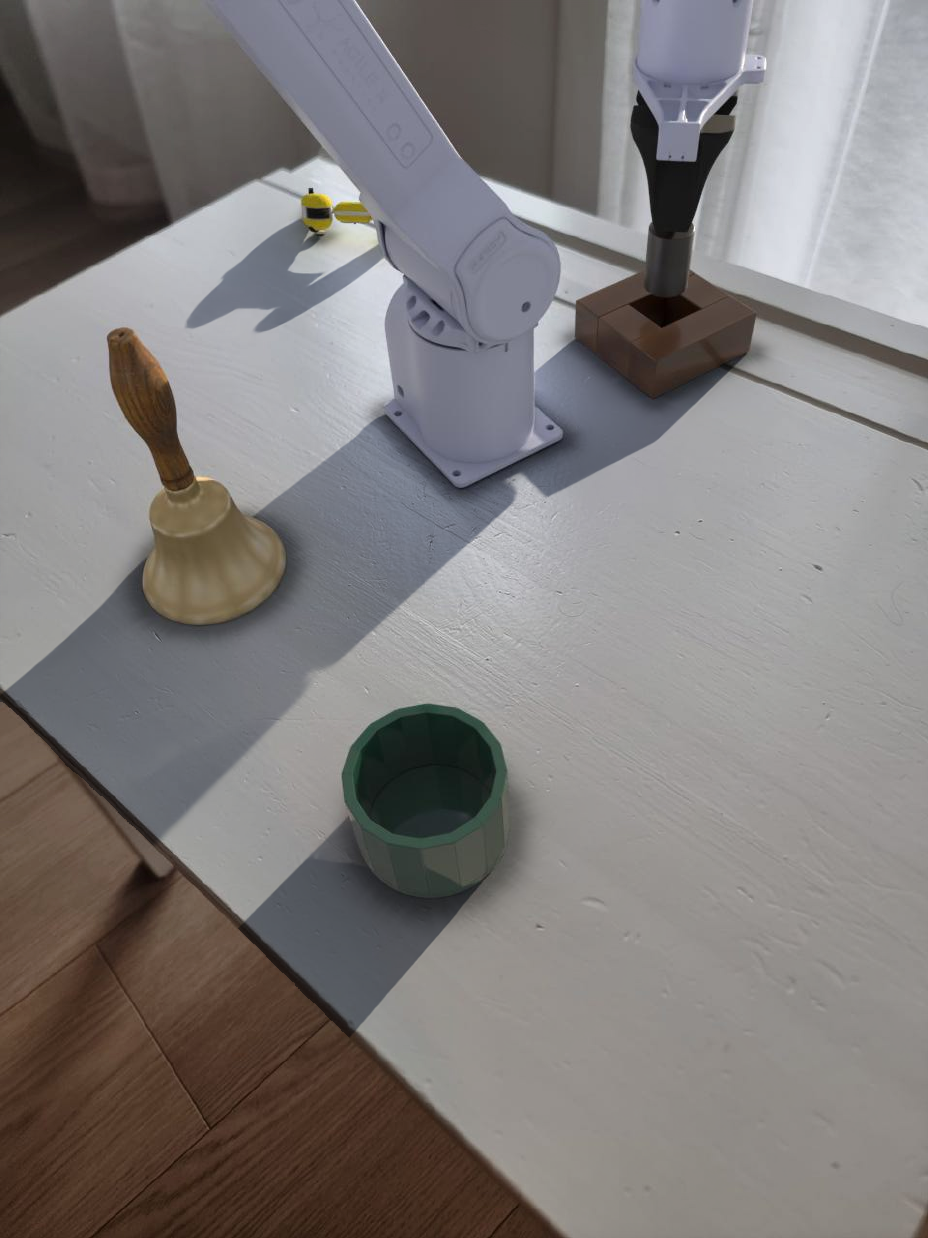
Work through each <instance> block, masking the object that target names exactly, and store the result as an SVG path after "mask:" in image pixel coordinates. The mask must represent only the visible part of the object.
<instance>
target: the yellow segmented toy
mask: <svg viewBox="0 0 928 1238" xmlns="http://www.w3.org/2000/svg"><path fill="white" fill-rule="evenodd" d="M307 189H308V193H307V194H304V195H303V196H302V198H301V200H300V206H301V219H302V221H303V223H304V225H305V226H307V228H308V231H310V232H311V233H314V234H315V236H316V237H317V238H322V237H324V236H325V234H326V229H329V228H330V227H331V225H332V223H333V219H334V218H335V220H337V221H338V222H340V223H341V224H353V225H357V224H361V225H363V224H364V225H367V224H370V222H372V221H373V219H372V217H371V215H370V214H369V212H368V211H367V210H366V208H365V207H364V206H363V205H362V204H361V202H360V201H359V202H358V201H341V202H338V203H337V204H336V205H335V206H334V207H333V203H332V200H331V198H330V197H329V196H328V195H327V194H323V193H315V192H314V187H308V188H307ZM333 214H334V217H333ZM373 224H374V223H373ZM374 227H375V228H376V226H375V224H374Z"/></svg>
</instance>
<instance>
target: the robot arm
mask: <svg viewBox="0 0 928 1238" xmlns="http://www.w3.org/2000/svg"><path fill="white" fill-rule="evenodd" d="M201 1H202V2H203V3H204V4H205V6H206V7H207V8H208V9H209V10H210V12H211V13H212V14H213V16H214V17H215V18H216V19H217V20H218V22H219V23H220V25H222V26H223V27H224V29H225V30H226V31H227V32H228V34H229V35H230V36H231V37H232V38H233V40H234V41H235V42H236V43H237V45H238V46H239V47H240V48H241V49H242V51H243V52H244V53H245V55H247V57H248V58H249V59H250V60H251V62H252V63H253V65H255V66H256V68H257V69H258V70H259V71H260V72H261V74H262V75H263V76H264V77H265V78H266V80H267V81H268V82H269V84H270V85H271V86H272V87H273V88H274V89H275V91H276V92H277V93H278V94H279V96H280V97H281V98H282V99H283V100H284V101H285V103H286V104H287V105H288V106H289V108H290V109H291V110H292V111H293V113H295V115H296V116H297V118H298V119H299V120H300V121H301V122H302V123H303V125H304V126H305V127H306V128H307V130H308V131H309V132H310V133H311V135H312V136H313V137H314V138H315V140H316V141H317V142H318V143H319V144H320V145H321V147H322V148H323V149H324V150H325V152H326V153H327V154H328V155H329V156H330V157H331V159H332V161H334V163H336V165H337V167H339V168H340V169H341V171H342V172H343V174H344V175H345V176H346V177H347V178H348V179H349V181H350V182H351V183H352V184H353V185H354V187H355V188H356V189H357V190H358V192H359V196H358V201H359V202H361V204H362V205H363V206H364V207H365V208H366V210H367V211H368V212H369V214H370V215H371V217H372V219H373V220H372V221H373V224H375V225H374V227H375V226H376V227H375V231H376V236H377V243H378V246H379V249H380V252H381V254H382V256H383V257H384V259H385V260H386V262H387V263H388V264H389V265H390V266H391V267H392V268H393V269H395V270H396V271H398V272H400V273H402V274H403V275H402V280H403V281H402V282H403V283H402V284H401V285H400V286H399V287H398V288H397V289H396V291H395V292H394V294H393V295H392V297H391V299H390V301H389V303H388V306H387V309H386V312H385V317H384V335H385V339H386V347H387V355H388V363H389V368H390V374H391V382H392V389H393V390H392V391H393V394H394V395H393V396H394V398H393V399H391V400H389V401H387V402H385V403H384V404H383V405H382V409H383V412H384V414H385V415H386V416H387V417H388V419H390V421H392V422H393V423H394V424H395V426H396V427H398V428H399V430H400V431H401V432H402V433H403V434H404V435H405V436H406V437H407V438H408V439H409V440H410V441H411V442H412V443H413V444H414V445H415V446H416V448H418V449H419V451H420V452H422V453H423V455H425V456H426V457H427V458H428V460H429V461H430V462H431V463H432V464H433V465H434V466H435V467H436V468H437V469H438V470H439V471H440V472H441V473H442V474H443V475H444V476H445V477H446V479H447V480H448V481H450V482H451V483H452V485H453V486H455V487H456V488H461V489H462V488H466V487H468V486H470V485H473V484H474V483H477V482H478V481H481V480H482V479H484V478H486V477H489V476H491V475H493V474H495V473H496V472H498V471H501V470H502V469H504V468H507V467H508V466H511V465H512V464H514V463H516V462H518V461H520V460H522V459H525V458H526V457H528V456H531V455H533V454H535V453H537V452H540V450H543V449H545V448H547V447H549V446H551V445H553V444H555V443H557V442H559V441H561V440H562V439H563V438H564V430H563V429H562V428H561V427H560V426H559V425H557V424H556V422H554V421H553V420H552V419H551V418H550V417H548V415H546V414H545V413H544V412H543V411H542V410H541V409H540V408H538V407H537V406H536V405H535V341H534V340H535V336H534V335H535V331H534V329H536V328H537V327H538V326H539V322H540V320H541V319H542V318H543V317H544V315H545V314H546V312H547V311H548V310H549V308H550V306H551V305H552V303H553V301H554V299H555V296H556V294H557V291H558V288H559V284H560V279H561V273H562V267H561V265H562V262H561V258H560V253H559V250H558V247H557V246H556V244H555V243H554V241H553V239H551V237H550V236H549V235H548V234H547V233H545V232H543V231H542V230H539V229H538V228H535V227H533V226H531V225H528V224H526V223H525V222H524V221H522V220H521V219H519V218H518V217H517V216H516V215H514V213H512V211H511V210H510V208H509V206H508V205H507V204H506V203H505V202H504V201H503V199H501V197H500V196H499V195H498V194H497V193H496V192H495V191H494V190H493V189H492V188H491V187H490V185H488V183H486V182H485V181H484V180H483V178H481V176H480V175H479V174H478V173H476V171H475V170H473V168H472V167H471V166H470V165H469V164H468V163H467V162H466V160H464V158H463V157H461V156H460V154H459V153H458V150H456V148H455V147H454V145H453V143H451V141H450V139H449V138H448V136H447V135H446V133H445V132H444V130H443V129H442V127H441V126H440V124H439V123H438V122H437V120H436V118H435V117H434V115H433V113H431V111H430V109H429V108H428V106H427V105H426V104H425V102H424V101H423V99H422V98H421V96H420V94H419V93H418V92H417V90H416V89H415V87H414V86H413V84H412V82H411V81H410V79H409V78H408V77H407V75H406V74H405V72H404V71H403V69H402V68H401V66H400V65H399V63H398V61H397V60H396V59H395V57H394V56H393V55H392V53H391V51H390V50H389V48H388V47H387V45H386V44H385V42H384V41H383V40H382V38H381V36H380V35H379V33H378V31H376V29H375V28H374V26H373V25H372V23H371V22H370V20H369V19H368V17H367V15H366V14H365V12H364V11H363V9H361V6H360V5H359V4H358V2H357V1H356V0H201ZM754 1H755V0H640V8H639V9H640V11H639V24H638V25H639V26H638V39H637V53H636V55H635V56H634V58H633V59H632V70H631V76H632V81H633V83H634V84H635V86H636V88H637V92H636V97H635V100H636V101H635V102H636V104H634V105H633V106H632V111H631V115H630V124H629V126H630V127H629V128H630V133H631V137H632V141H633V142H634V144H635V145H636V147H637V149H638V152H639V154H640V158H641V159H642V163H643V167H644V170H645V175H646V181H647V189H648V199H649V201H648V202H649V209H650V217H651V222H652V223H653V227H654V230H655V231H668V232H688V230H689V228H690V226H691V224H692V223H693V221H694V218H695V216H696V213H697V210H698V208H699V204H700V201H701V198H702V194H703V191H704V188H705V185H706V182H707V180H708V177H709V174H710V172H711V170H712V168H713V166H714V164H715V163H716V161H717V159H718V158H719V156H720V154H721V153H722V152H723V151H724V149H725V147H726V146H727V145H728V144H729V142H730V140H731V139H732V136H733V134H734V132H735V128H736V118H737V116H736V115H733V114H732V115H731V113H732V112H733V110H734V108H735V107H736V106H737V104H738V98H739V89H740V88H741V87H742V86H743V85H758V84H761V83H763V82H764V81H765V77H766V73H767V72H766V71H767V58H766V57H765V56H764V55H762V54H761V55H760V54H749V53H748V54H747V48H748V42H749V41H748V40H749V34H750V28H751V21H752V15H753V14H752V13H753V7H754Z"/></svg>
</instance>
